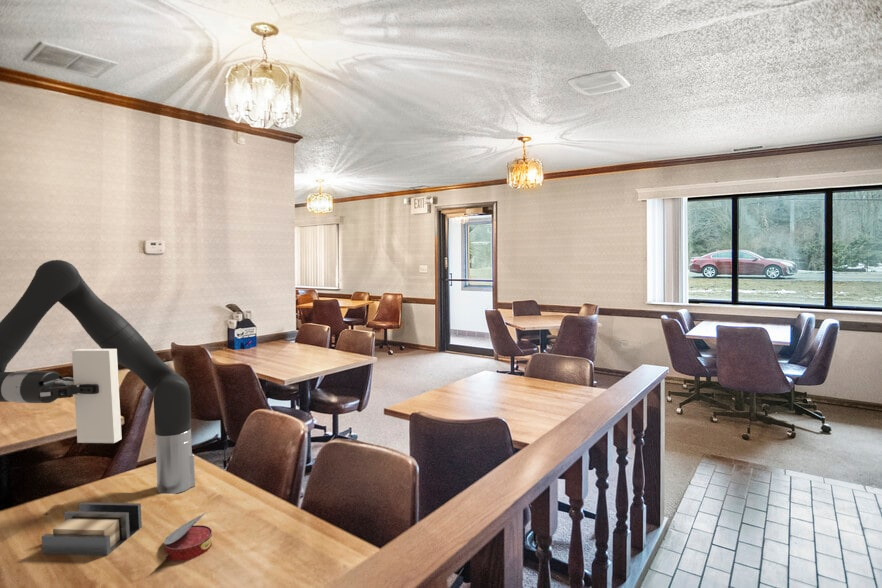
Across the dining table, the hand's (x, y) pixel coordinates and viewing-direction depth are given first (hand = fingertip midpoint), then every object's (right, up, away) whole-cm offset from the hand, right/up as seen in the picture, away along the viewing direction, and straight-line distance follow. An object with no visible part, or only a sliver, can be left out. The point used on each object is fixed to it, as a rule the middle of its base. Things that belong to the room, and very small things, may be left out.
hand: (102, 387), depth 115 cm
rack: (-1, -37, -1) cm, 37 cm away
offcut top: (-1, -33, -3) cm, 33 cm away
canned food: (+21, -38, -2) cm, 43 cm away
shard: (-19, -37, +14) cm, 44 cm away
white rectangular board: (-1, -13, +1) cm, 13 cm away
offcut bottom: (-1, -36, -3) cm, 36 cm away
